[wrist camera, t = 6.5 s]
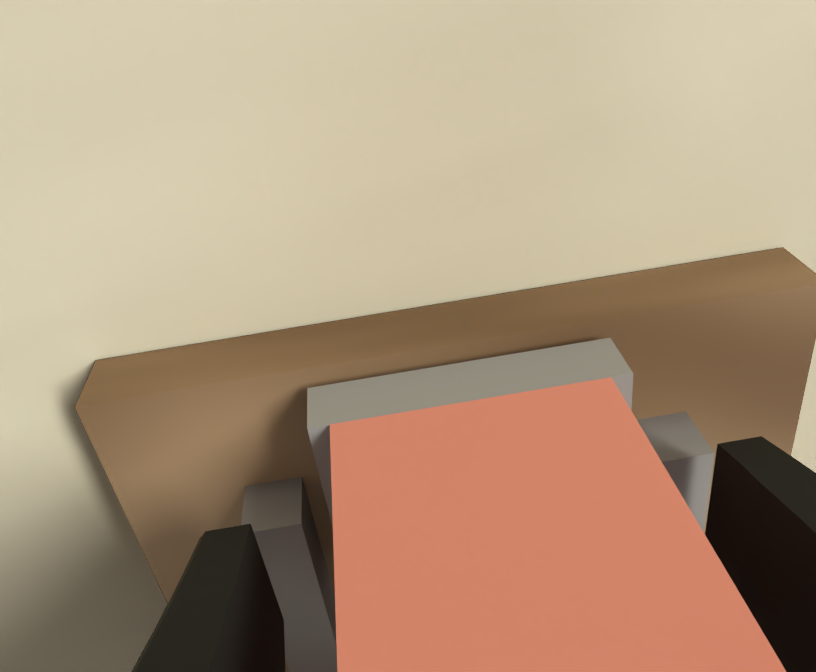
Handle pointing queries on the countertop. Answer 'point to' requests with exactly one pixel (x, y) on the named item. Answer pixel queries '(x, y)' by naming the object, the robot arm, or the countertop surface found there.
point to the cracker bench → (424, 348)
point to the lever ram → (517, 525)
